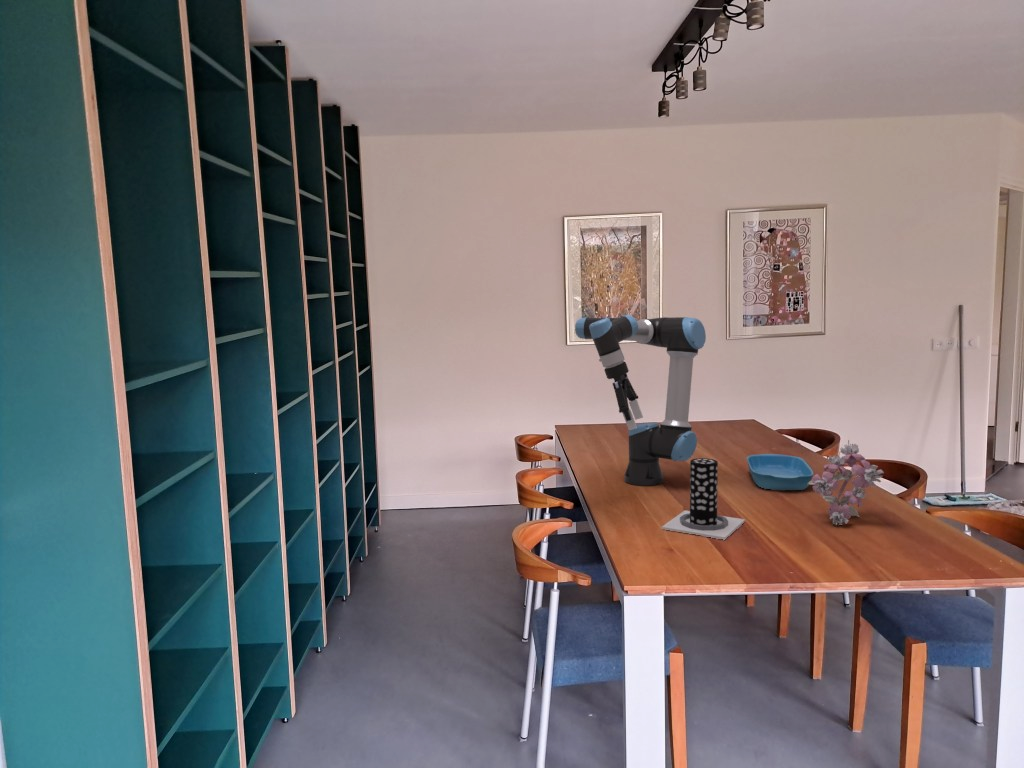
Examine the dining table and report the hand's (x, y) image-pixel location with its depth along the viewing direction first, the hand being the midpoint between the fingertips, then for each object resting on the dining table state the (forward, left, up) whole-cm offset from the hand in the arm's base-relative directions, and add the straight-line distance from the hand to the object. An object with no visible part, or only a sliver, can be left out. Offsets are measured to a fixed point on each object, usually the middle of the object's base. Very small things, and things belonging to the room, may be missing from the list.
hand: (636, 423), depth 243 cm
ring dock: (+3, +24, -30) cm, 39 cm away
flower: (-24, +60, -31) cm, 72 cm away
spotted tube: (+3, +24, -30) cm, 39 cm away
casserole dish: (-64, +31, -31) cm, 77 cm away
